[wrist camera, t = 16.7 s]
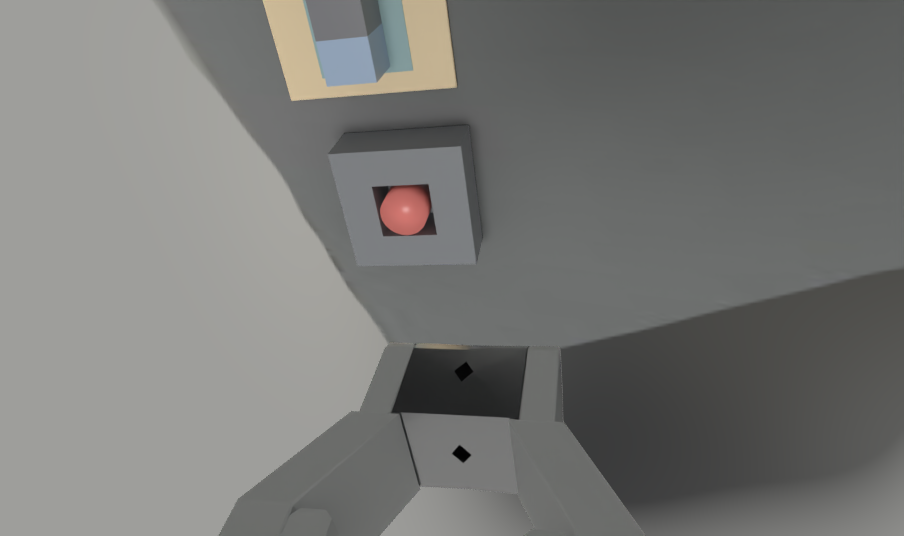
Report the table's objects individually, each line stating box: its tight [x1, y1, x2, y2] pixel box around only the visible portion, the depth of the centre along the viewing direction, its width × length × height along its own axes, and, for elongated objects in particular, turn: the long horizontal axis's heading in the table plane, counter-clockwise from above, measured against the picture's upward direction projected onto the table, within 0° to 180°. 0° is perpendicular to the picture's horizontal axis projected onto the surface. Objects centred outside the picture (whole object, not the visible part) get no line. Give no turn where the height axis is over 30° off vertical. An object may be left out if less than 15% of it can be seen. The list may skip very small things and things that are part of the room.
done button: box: [380, 184, 432, 235], centre depth 47 cm, size 4×4×4 cm
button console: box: [328, 125, 483, 266], centre depth 47 cm, size 10×10×4 cm
